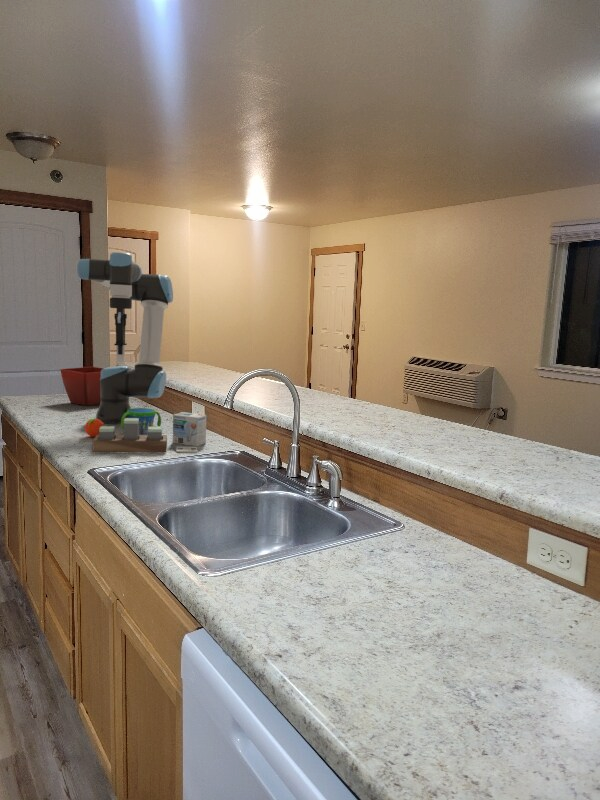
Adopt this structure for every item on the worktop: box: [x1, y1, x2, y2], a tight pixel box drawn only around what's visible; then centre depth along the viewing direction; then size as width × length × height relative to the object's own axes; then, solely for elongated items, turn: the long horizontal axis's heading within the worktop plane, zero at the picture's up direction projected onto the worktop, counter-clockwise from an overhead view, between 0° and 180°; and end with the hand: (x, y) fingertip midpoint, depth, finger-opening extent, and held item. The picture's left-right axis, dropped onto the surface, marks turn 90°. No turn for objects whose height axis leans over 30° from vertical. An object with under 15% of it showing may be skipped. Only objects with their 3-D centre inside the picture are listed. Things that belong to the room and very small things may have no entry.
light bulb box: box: [172, 411, 207, 447], centre depth 221 cm, size 11×7×11 cm, turn 70°
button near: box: [99, 425, 116, 439], centre depth 206 cm, size 5×5×7 cm
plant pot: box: [60, 366, 104, 406], centre depth 294 cm, size 19×19×17 cm
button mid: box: [123, 418, 139, 440], centre depth 207 cm, size 5×5×7 cm
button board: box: [92, 434, 168, 453], centre depth 208 cm, size 10×24×4 cm, turn 101°
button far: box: [148, 426, 163, 440], centre depth 209 cm, size 5×5×7 cm
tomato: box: [84, 417, 105, 438], centre depth 223 cm, size 8×7×7 cm
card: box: [176, 446, 198, 454], centre depth 210 cm, size 6×7×1 cm
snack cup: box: [120, 407, 162, 435], centre depth 228 cm, size 16×10×10 cm
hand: (120, 363), depth 216 cm, fingers closed
